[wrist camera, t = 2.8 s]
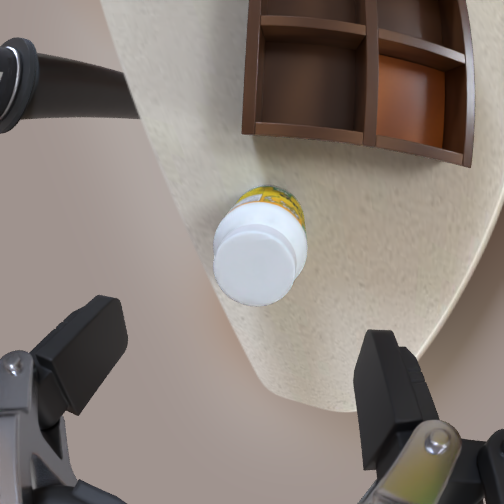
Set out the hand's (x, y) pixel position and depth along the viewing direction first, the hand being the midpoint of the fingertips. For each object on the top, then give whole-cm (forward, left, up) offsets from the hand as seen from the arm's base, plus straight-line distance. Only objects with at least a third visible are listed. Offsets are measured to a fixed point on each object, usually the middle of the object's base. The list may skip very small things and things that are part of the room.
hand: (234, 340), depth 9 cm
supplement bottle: (0, 0, -15) cm, 15 cm away
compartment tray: (+6, +14, -15) cm, 21 cm away
